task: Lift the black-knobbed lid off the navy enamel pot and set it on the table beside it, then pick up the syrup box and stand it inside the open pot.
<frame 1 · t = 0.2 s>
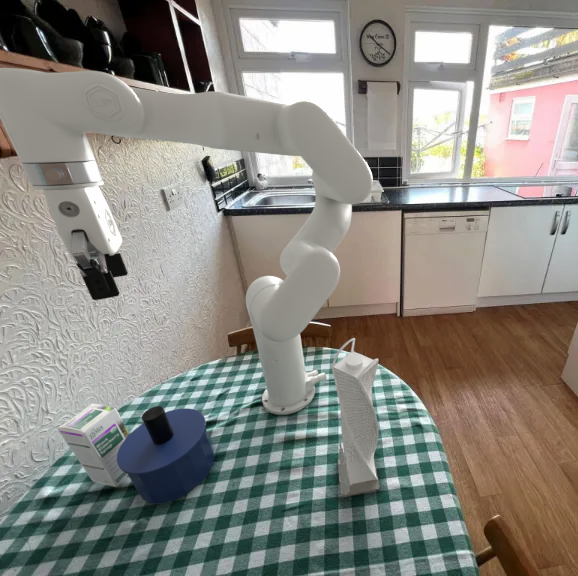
hand: (112, 286, 51), 36 cm above the table, tool pointing down, fingers open, 9 cm apart
syrup box: (118, 471, 61), on the table
lid: (164, 439, 57), point 8 cm above the table, touching pot
skyscraper: (360, 471, 60), on the table
pot: (178, 470, 61), on the table
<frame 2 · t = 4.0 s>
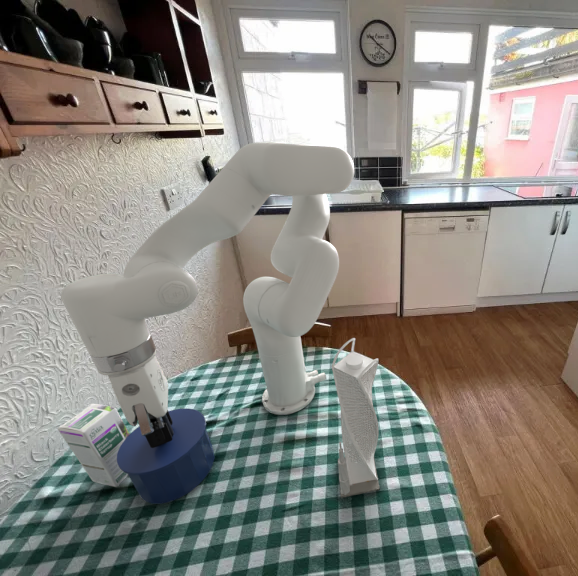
hand: (162, 434, 56), 10 cm above the table, tool pointing down, fingers closed on lid, 3 cm apart
lid: (164, 439, 57), point 9 cm above the table, touching gripper, pot
everything else where it was.
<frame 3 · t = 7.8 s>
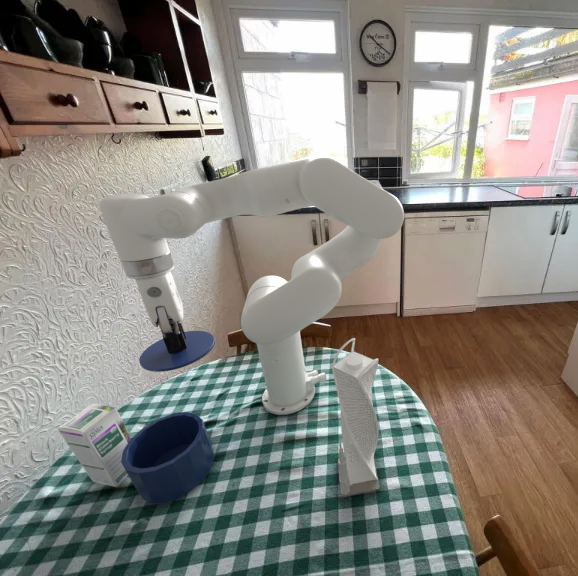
hand: (177, 345, 65), 19 cm above the table, tool pointing down, fingers closed on lid, 3 cm apart
lid: (179, 350, 66), point 18 cm above the table, touching gripper
everything else where it was.
when the fingers open (2 cm above the table, at t = 11.7 s): lid stays where it is, point 1 cm above the table.
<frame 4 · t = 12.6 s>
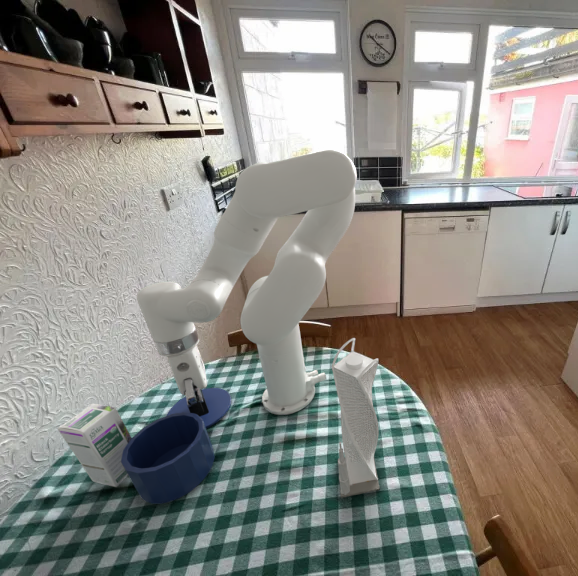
hand: (199, 401, 72), 3 cm above the table, tool pointing down, fingers open, 9 cm apart
lid: (200, 410, 73), point 1 cm above the table
everything else where it was.
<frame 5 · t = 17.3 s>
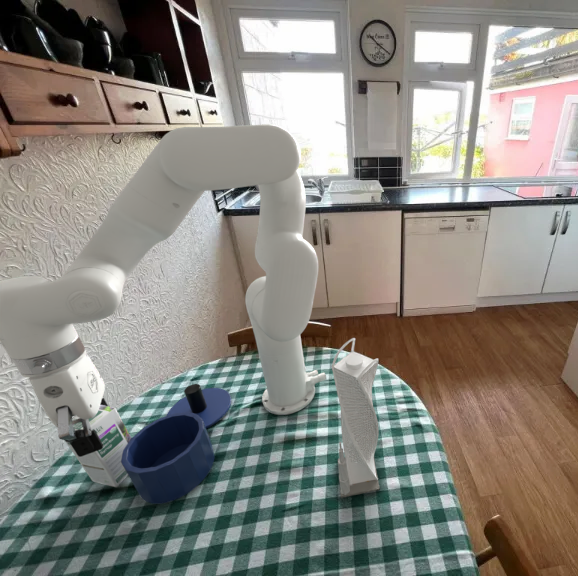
hand: (96, 433, 56), 10 cm above the table, tool pointing down, fingers closed on syrup box, 7 cm apart
syrup box: (118, 471, 61), on the table, touching gripper
everything else where it was.
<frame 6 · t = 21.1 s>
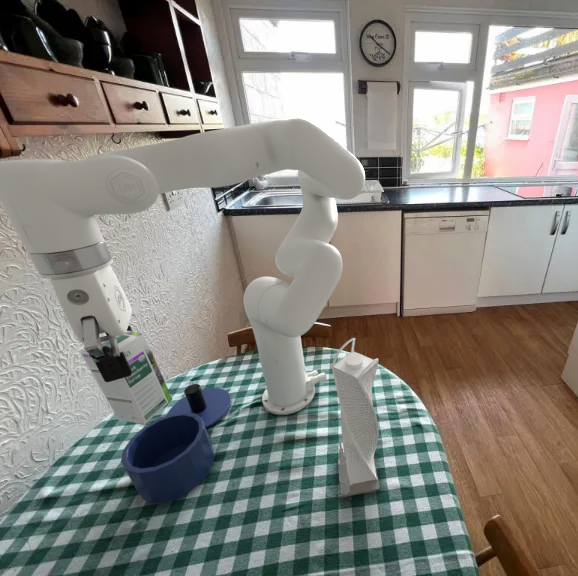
hand: (123, 361, 50), 26 cm above the table, tool pointing down, fingers closed on syrup box, 7 cm apart
syrup box: (146, 410, 54), point 16 cm above the table, touching gripper
everything else where it was.
when the fingers open (11 cm above the table, at t = 25.1 s): syrup box stays where it is, resting on pot.
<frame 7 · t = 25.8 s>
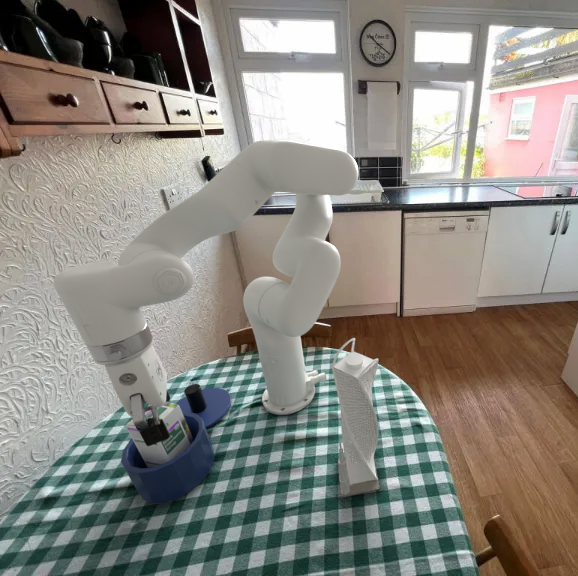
hand: (160, 420, 55), 13 cm above the table, tool pointing down, fingers open, 9 cm apart
syrup box: (178, 468, 60), resting on pot
everything else where it was.
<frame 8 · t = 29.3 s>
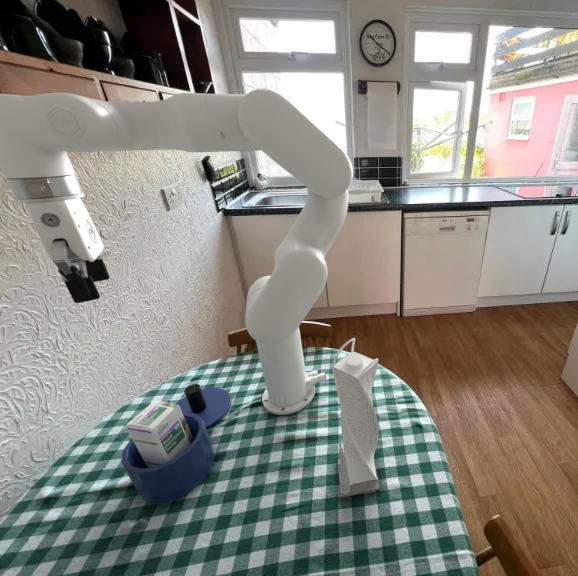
hand: (94, 289, 55), 34 cm above the table, tool pointing down, fingers open, 9 cm apart
nothing on the table moved.
at the end: lid point 0.6 cm above the table; lid inside the target area (0.4 cm from its centre), point 0.6 cm above the table; syrup box 0.0 cm off-centre in the pot, point 0.3 cm above the pot's base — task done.
